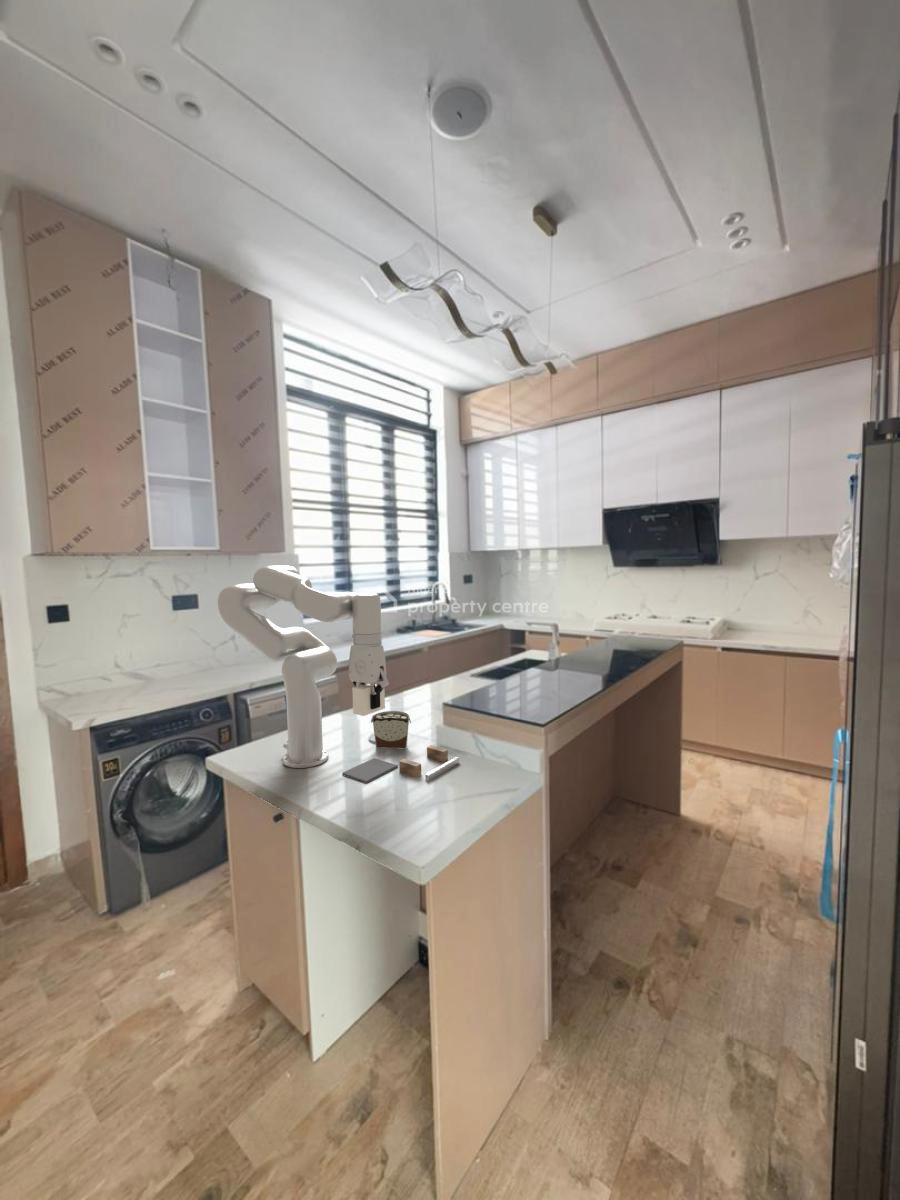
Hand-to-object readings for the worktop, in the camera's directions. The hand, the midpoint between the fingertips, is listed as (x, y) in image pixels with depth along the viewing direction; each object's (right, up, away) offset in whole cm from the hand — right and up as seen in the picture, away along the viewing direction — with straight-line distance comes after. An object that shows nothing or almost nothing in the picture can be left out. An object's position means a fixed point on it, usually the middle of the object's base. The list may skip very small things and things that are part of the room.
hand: (369, 706), depth 132 cm
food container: (+4, -17, +21) cm, 27 cm away
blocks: (+16, -18, +3) cm, 24 cm away
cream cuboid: (0, -1, 0) cm, 1 cm away
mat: (0, -18, +1) cm, 18 cm away
